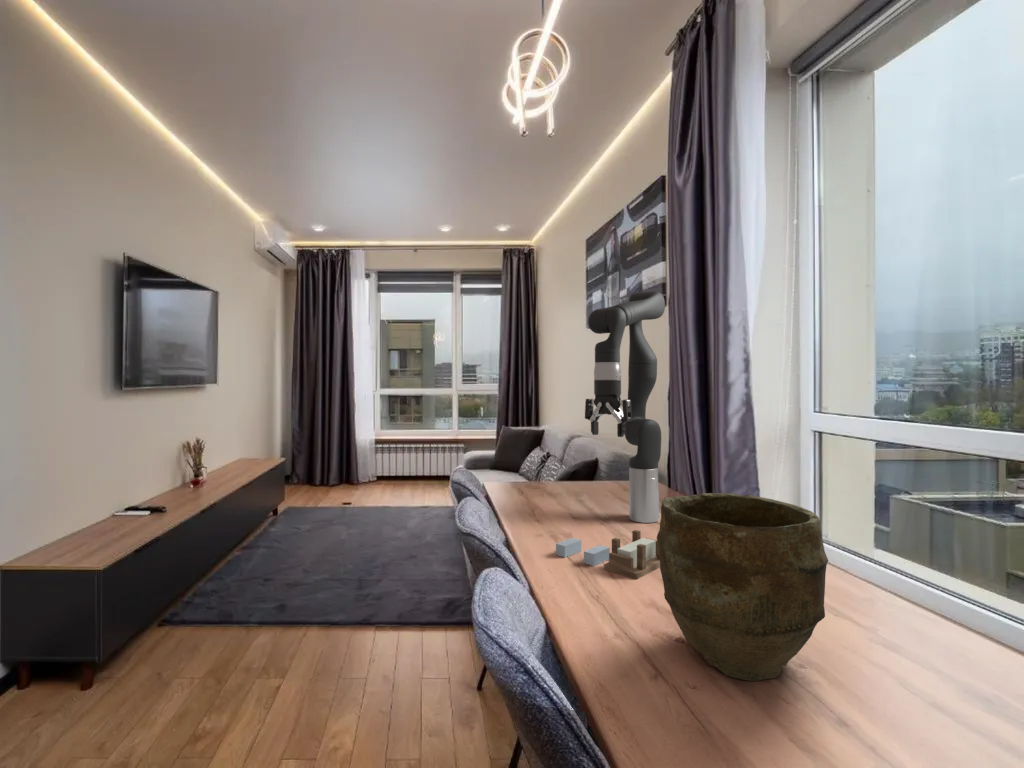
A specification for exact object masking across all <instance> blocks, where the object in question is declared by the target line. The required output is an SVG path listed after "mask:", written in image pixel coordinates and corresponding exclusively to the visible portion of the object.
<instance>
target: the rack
mask: <svg viewBox="0 0 1024 768" xmlns="http://www.w3.org/2000/svg"><path fill="white" fill-rule="evenodd" d="M631 535H632V539H631V541H632V542H634V541H637V540H639V539H642V537H641V530H638V529H634V530H632V533H631ZM645 538H646V539H649V538H647V537H645ZM650 539H651V538H650ZM651 540H653V539H651ZM654 540H655V539H654ZM655 541H656V557H654V558H652V559H650V560H648V561H646V545H643V544H639V545H637V566H635V567H633V558H630V557H627V556H623V555H619V554H617V549H618V548H620V547H621V538H618V537H613V538H611V551H610V553H609V560H608V562H606V563H604V564H603V570H604V569H605V571H608V572H612V573H614V572H615V574H618V575H622V576H625V577H628V578H632V579H635V580H638V579H640V578H642V577H645V575H647V574H649V573H651V572H653V571H655V570H657V569H659V568H660V557H659V550H658V543H657V539H656V540H655ZM632 542H631V543H632Z"/></svg>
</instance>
